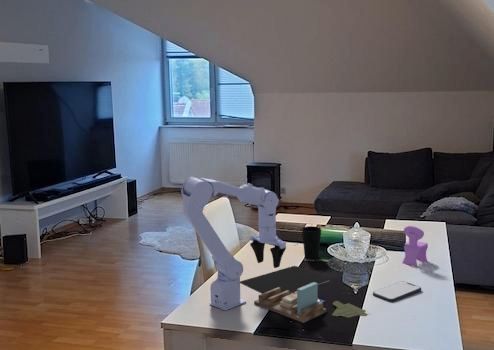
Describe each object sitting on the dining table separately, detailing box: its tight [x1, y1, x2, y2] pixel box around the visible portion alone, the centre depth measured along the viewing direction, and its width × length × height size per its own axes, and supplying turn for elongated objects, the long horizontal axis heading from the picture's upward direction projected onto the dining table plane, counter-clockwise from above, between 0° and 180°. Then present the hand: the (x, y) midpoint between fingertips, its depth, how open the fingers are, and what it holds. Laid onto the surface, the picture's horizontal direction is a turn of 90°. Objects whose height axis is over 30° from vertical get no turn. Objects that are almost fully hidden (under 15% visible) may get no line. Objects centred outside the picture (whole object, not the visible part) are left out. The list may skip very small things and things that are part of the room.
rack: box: [253, 287, 328, 324], centre depth 184 cm, size 11×21×3 cm, turn 44°
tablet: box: [240, 265, 331, 294], centre depth 208 cm, size 27×1×20 cm
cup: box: [301, 226, 322, 261], centre depth 232 cm, size 8×8×12 cm
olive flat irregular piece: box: [331, 300, 372, 319], centre depth 179 cm, size 11×18×1 cm, turn 36°
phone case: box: [372, 280, 422, 303], centre depth 195 cm, size 9×2×16 cm
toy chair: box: [401, 225, 429, 267], centre depth 224 cm, size 8×9×15 cm
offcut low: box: [280, 301, 297, 309], centre depth 184 cm, size 6×4×1 cm
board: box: [296, 282, 319, 315], centre depth 179 cm, size 8×2×8 cm, turn 134°
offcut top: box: [282, 293, 297, 304], centre depth 185 cm, size 5×4×1 cm
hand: (268, 264), depth 195 cm, fingers open, 7 cm apart
